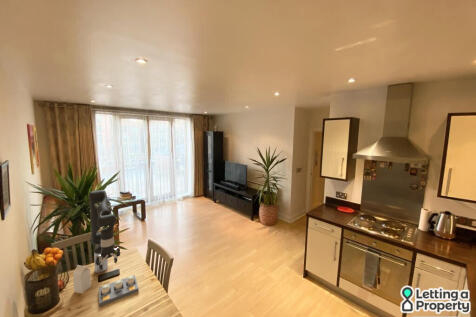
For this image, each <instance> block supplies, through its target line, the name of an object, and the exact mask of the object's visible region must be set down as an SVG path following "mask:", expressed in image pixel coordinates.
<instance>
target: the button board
mask: <svg viewBox="0 0 476 317" xmlns="http://www.w3.org/2000/svg"><path fill="white" fill-rule="evenodd" d="M132 276H134V283H133V284H132V285H127V278H128V277H129V276H127V277H125V278H121V279H120V280H122V288H121V289H118V290H116V289H115V282H116V281H113V282H111V283H108V284H109V285H110V291H109V293H107V294H104V295H103V294H102V286H103V285H101V286H99V287H98V302H99V303H98V305H99V308H101V307H104V306H106V304H107V305H109V304H111V303H114V302H118V301H119V300H121V299H124V298H126V297H129V296H131V295H135V294H136V293H139V285H138V282H137V277H136V275H135V274H133V275H132Z"/></svg>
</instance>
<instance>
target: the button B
mask: <svg viewBox="0 0 476 317" xmlns="http://www.w3.org/2000/svg"><path fill="white" fill-rule="evenodd" d="M114 282H115V289H116V290H118V289H121V288H122V280H121V279H118V280H116V281H114Z"/></svg>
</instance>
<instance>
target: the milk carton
mask: <svg viewBox="0 0 476 317" xmlns="http://www.w3.org/2000/svg"><path fill="white" fill-rule="evenodd" d="M72 277H73V279H72V280H73V292H74V293H77V294H83V293H86V291H87V290H88V289H90V288H91V287H92V286H91V285H92V283H91V282H92V281H91V270H90V268H88V267H87V265H79V264H77V265H76V268H75V270H74V271H73V272H72Z"/></svg>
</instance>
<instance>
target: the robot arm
mask: <svg viewBox="0 0 476 317" xmlns="http://www.w3.org/2000/svg"><path fill="white" fill-rule="evenodd" d="M88 201H89V202H88V203H89V211H90V215H89V218H90V227H91V229H90V232H91V233H90V234H91V235H90V240H91V241H90V242H91V245H92V246H95V247H94V248H93V256H94V259H93V260H94V272H95V273H98V274H100V273H103V272H105V271H107V270H108V268H109V265H108V264H109V263H108V259H110V258H112V257H113V262H114V264H117V262H118V257H120V256H121V251H120V250H121V248H119V247H118V246H116V247H115V237H114V228H115V225H116V221H117V217H116V215H115V214H112V213H111V211H110V207H109V201H108V195H107V192H106V190H104V189H99V190H93V191H92V190H91V191H90V192H89V193H88ZM97 203H100V204H98V206H97V205H96V204H97ZM100 228H103V229H102V230H101V231H100V232H99V230H100ZM96 245H97V246H96ZM115 252H116V254H115Z"/></svg>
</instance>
